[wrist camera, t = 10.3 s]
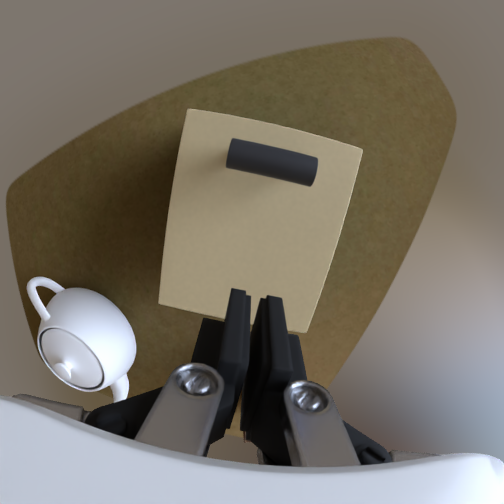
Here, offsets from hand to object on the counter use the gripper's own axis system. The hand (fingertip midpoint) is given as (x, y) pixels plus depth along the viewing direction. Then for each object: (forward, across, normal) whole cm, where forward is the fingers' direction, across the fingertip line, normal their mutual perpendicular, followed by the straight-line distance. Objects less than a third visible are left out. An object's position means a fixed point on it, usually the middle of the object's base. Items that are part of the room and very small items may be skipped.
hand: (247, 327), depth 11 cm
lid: (+12, 0, 0) cm, 12 cm away
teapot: (+21, +17, +20) cm, 34 cm away
